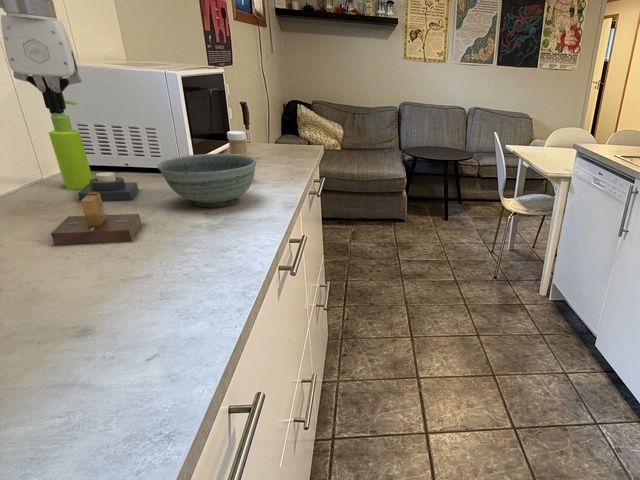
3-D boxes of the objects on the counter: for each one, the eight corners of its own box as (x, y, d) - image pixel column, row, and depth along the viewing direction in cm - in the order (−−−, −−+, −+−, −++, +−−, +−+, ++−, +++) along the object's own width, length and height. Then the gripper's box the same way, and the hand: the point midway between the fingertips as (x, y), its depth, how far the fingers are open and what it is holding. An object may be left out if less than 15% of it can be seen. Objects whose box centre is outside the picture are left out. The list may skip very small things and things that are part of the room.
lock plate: (55, 246, 85) (50, 232, 84) (71, 228, 93) (67, 215, 92) (132, 242, 89) (128, 229, 88) (141, 225, 97) (138, 212, 96)
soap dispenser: (99, 188, 118) (76, 102, 109) (65, 190, 114) (37, 101, 105) (99, 182, 122) (76, 99, 113) (66, 184, 118) (39, 99, 109)
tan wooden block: (99, 226, 88) (92, 199, 86) (88, 227, 88) (80, 199, 85) (106, 218, 92) (99, 191, 90) (95, 218, 92) (88, 192, 89)
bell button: (96, 183, 109) (94, 175, 108) (100, 179, 112) (98, 172, 111) (114, 183, 110) (112, 175, 109) (117, 179, 113) (115, 172, 112)
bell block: (80, 202, 107) (75, 185, 105) (91, 192, 115) (86, 175, 113) (131, 201, 111) (127, 184, 109) (138, 191, 118) (135, 175, 116)
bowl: (261, 213, 109) (256, 170, 104) (158, 217, 102) (148, 171, 97) (261, 190, 126) (256, 152, 121) (172, 192, 119) (164, 151, 115)
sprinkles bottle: (235, 184, 130) (228, 133, 123) (232, 180, 133) (225, 130, 127) (252, 183, 132) (246, 133, 126) (249, 179, 135) (243, 130, 129)
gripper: (-30, 2, 83) (4, 113, 92) (72, 14, 89) (96, 117, 97) (-12, 5, 90) (18, 108, 98) (83, 16, 95) (104, 112, 103)
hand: (57, 112), depth 97 cm, fingers closed
